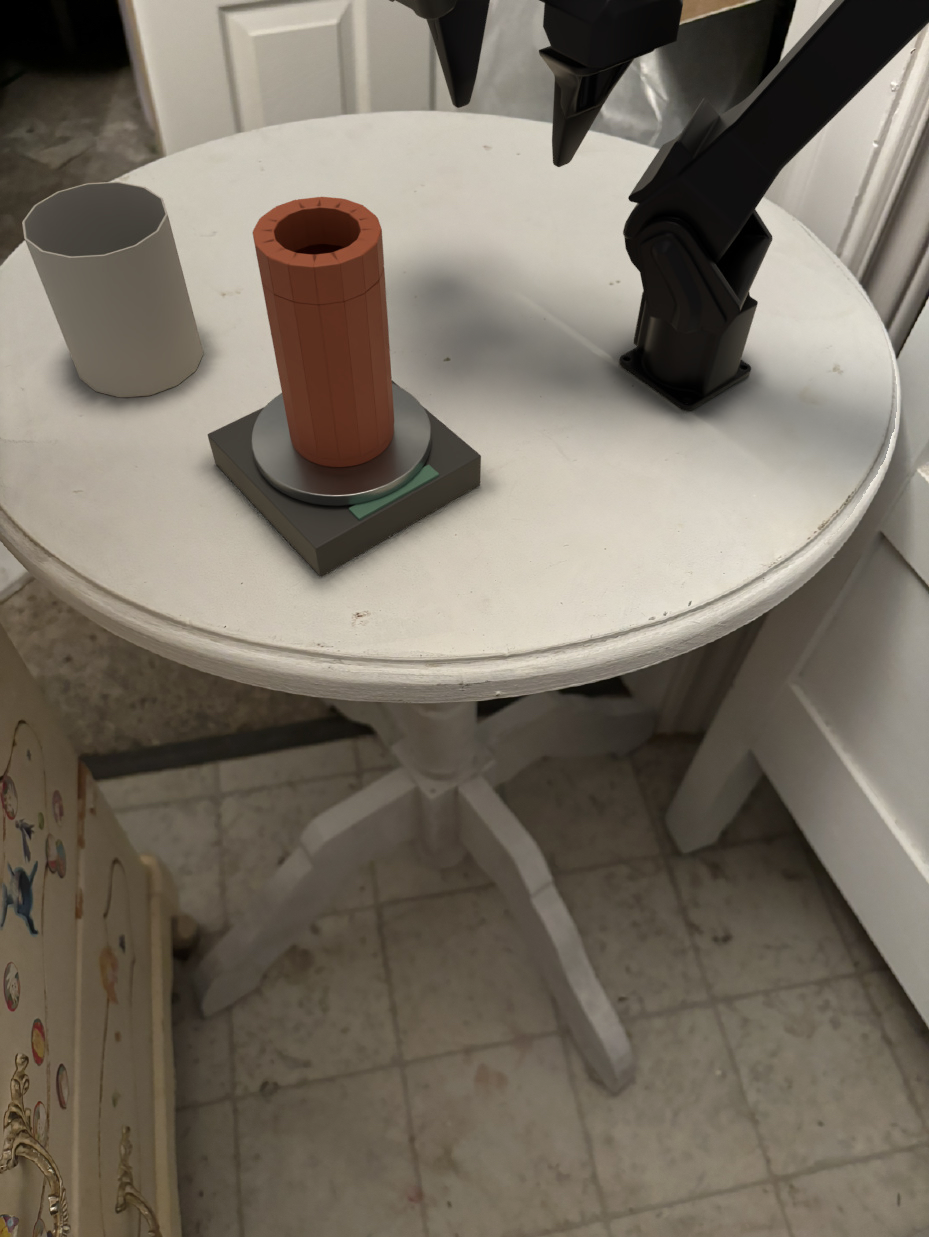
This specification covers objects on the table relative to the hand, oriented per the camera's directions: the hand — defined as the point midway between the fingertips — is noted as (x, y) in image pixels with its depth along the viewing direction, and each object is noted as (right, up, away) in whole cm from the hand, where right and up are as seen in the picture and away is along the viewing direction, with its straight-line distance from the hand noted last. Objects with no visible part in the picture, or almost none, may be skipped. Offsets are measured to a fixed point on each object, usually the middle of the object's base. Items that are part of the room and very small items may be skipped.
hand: (509, 134), depth 56 cm
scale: (-10, -20, +1) cm, 23 cm away
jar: (-10, -18, -2) cm, 21 cm away
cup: (-25, -11, +8) cm, 28 cm away
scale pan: (-10, -19, -1) cm, 21 cm away
